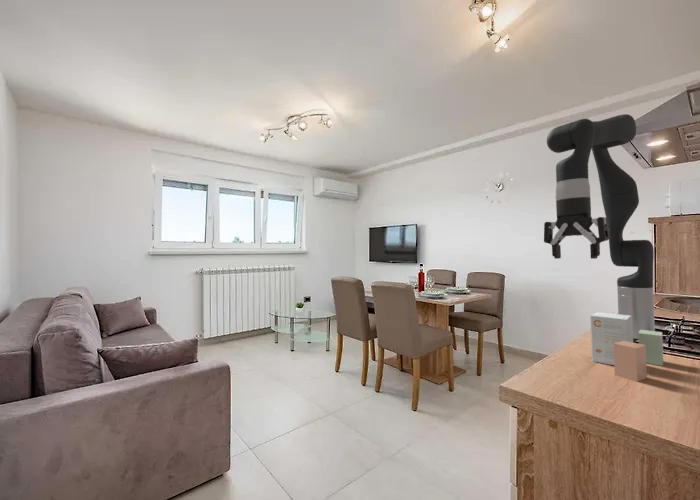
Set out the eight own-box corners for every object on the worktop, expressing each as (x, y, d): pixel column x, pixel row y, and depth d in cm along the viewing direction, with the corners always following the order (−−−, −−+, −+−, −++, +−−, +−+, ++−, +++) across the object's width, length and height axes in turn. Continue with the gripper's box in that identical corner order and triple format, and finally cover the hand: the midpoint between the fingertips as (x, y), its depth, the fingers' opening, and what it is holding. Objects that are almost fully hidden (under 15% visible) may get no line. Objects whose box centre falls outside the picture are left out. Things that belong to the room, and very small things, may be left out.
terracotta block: (624, 371, 81) (623, 340, 81) (646, 377, 77) (645, 345, 76) (614, 375, 79) (613, 343, 79) (637, 381, 75) (635, 348, 75)
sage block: (641, 357, 89) (640, 329, 89) (663, 361, 86) (662, 332, 86) (639, 361, 86) (638, 332, 86) (662, 365, 83) (661, 335, 83)
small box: (634, 362, 86) (632, 315, 86) (629, 369, 82) (627, 319, 82) (597, 355, 92) (596, 311, 92) (591, 361, 88) (589, 315, 88)
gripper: (611, 194, 80) (613, 257, 80) (550, 202, 92) (553, 257, 92) (599, 192, 76) (601, 259, 76) (537, 201, 88) (539, 259, 88)
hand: (575, 258), depth 84 cm, fingers open, 8 cm apart
